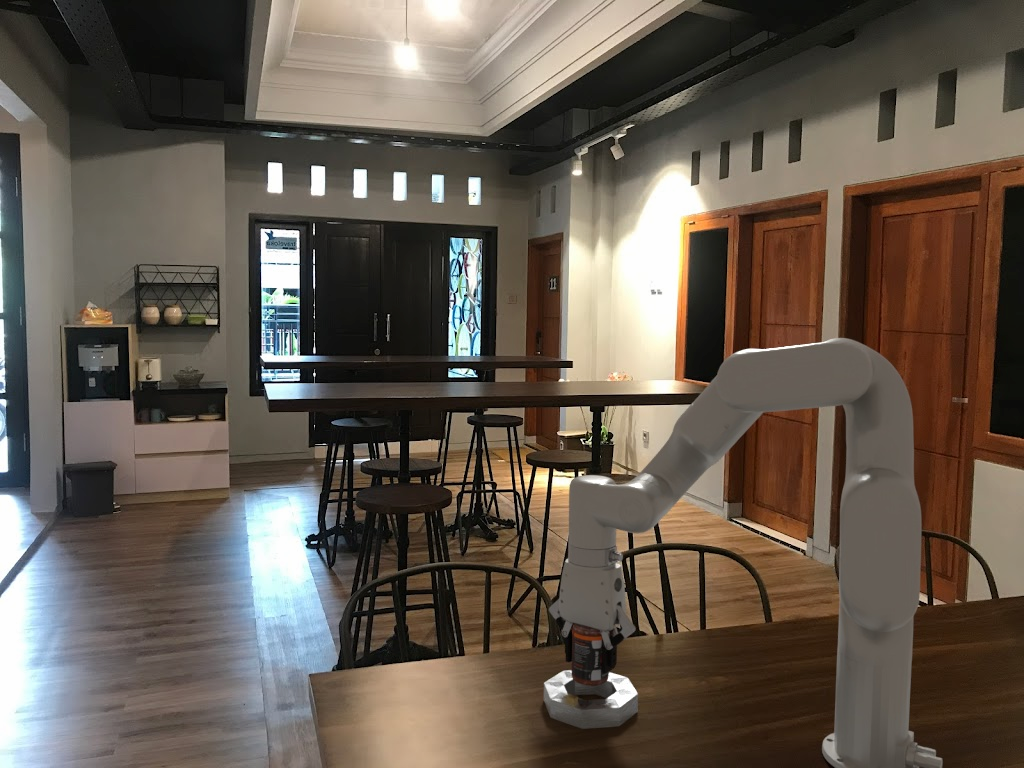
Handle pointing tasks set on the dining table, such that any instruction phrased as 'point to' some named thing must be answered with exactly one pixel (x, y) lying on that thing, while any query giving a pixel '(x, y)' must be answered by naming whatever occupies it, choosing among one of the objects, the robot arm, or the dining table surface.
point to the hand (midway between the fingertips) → (590, 663)
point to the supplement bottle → (587, 656)
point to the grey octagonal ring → (590, 701)
